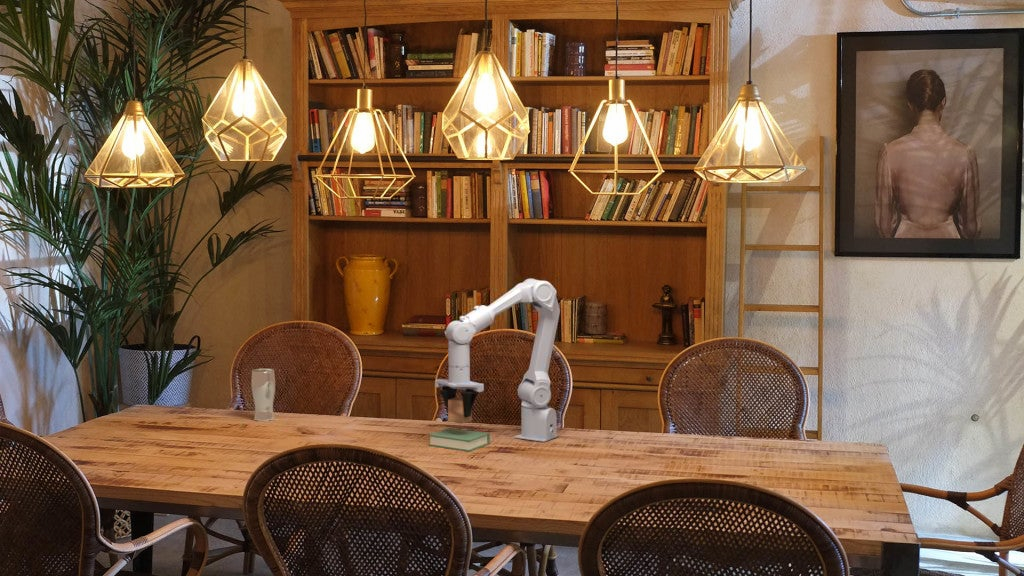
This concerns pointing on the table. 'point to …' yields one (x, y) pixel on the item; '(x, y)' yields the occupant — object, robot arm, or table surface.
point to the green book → (459, 439)
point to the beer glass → (263, 393)
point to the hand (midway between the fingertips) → (459, 415)
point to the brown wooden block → (457, 411)
